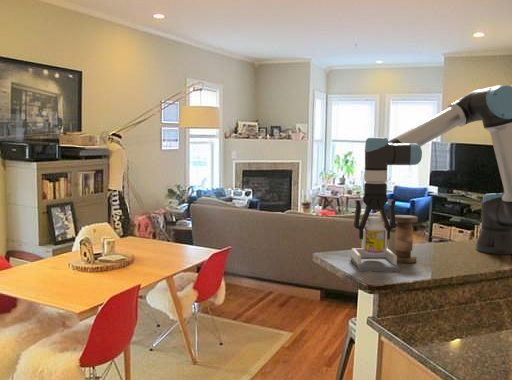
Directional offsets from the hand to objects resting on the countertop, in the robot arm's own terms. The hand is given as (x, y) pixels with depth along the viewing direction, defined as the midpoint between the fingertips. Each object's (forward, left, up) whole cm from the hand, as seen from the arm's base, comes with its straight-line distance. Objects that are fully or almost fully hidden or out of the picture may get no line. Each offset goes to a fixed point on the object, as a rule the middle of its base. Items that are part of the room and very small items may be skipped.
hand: (374, 248), depth 168 cm
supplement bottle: (0, 0, -2) cm, 2 cm away
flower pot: (-13, -20, -6) cm, 25 cm away
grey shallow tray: (0, +1, -6) cm, 6 cm away
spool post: (-12, -7, -6) cm, 15 cm away
